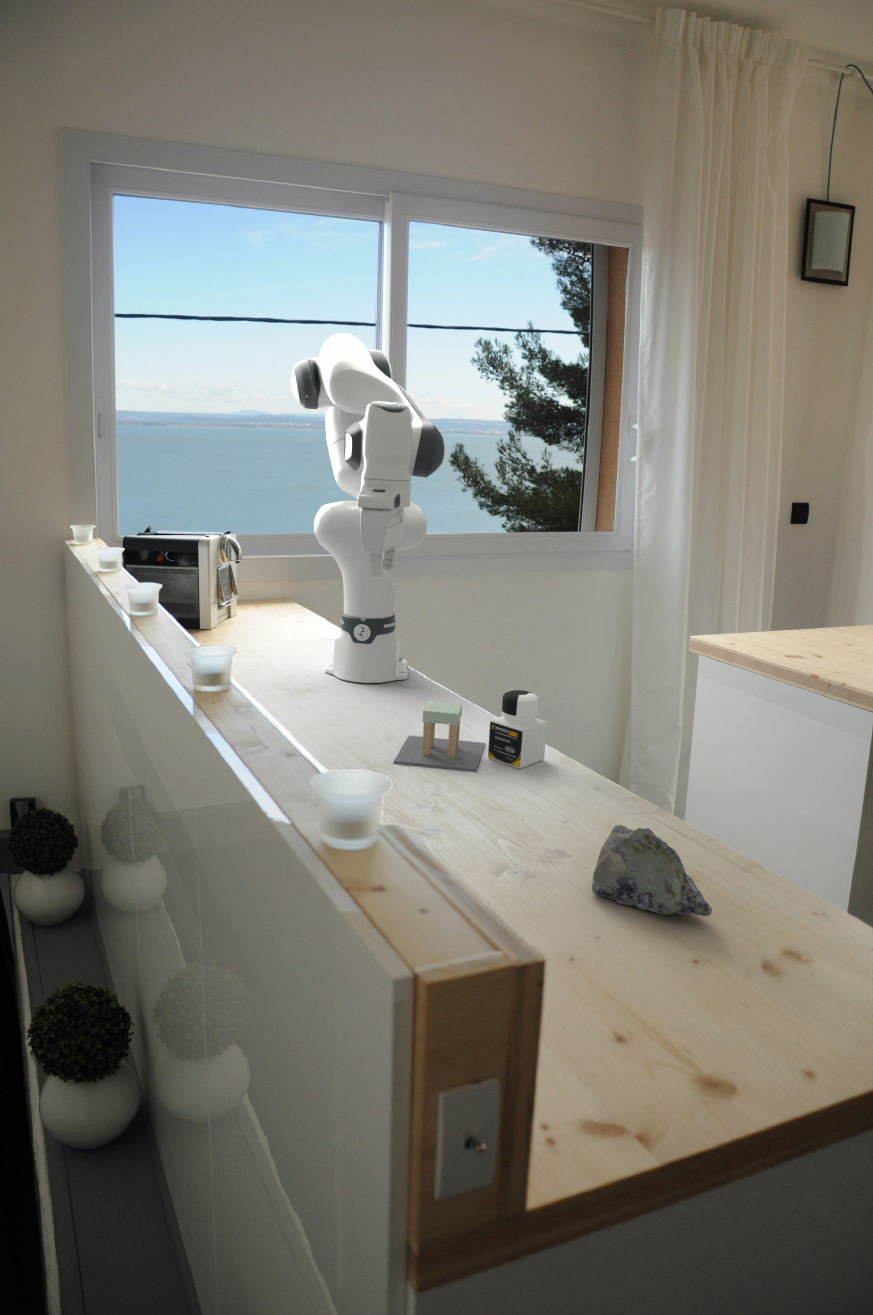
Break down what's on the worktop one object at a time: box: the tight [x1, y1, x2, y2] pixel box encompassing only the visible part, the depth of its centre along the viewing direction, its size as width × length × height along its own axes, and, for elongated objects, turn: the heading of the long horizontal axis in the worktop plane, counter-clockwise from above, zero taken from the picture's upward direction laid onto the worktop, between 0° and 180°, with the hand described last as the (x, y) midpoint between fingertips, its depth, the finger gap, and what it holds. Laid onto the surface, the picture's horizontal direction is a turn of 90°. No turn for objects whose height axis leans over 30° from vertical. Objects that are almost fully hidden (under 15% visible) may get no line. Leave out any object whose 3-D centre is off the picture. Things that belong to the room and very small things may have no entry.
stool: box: [422, 700, 463, 758], centre depth 164 cm, size 6×6×8 cm
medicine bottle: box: [487, 689, 548, 769], centre depth 163 cm, size 7×7×12 cm
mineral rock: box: [591, 824, 713, 917], centre depth 113 cm, size 13×11×10 cm
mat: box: [393, 735, 486, 772], centre depth 165 cm, size 14×14×1 cm
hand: (382, 572), depth 172 cm, fingers open, 8 cm apart
